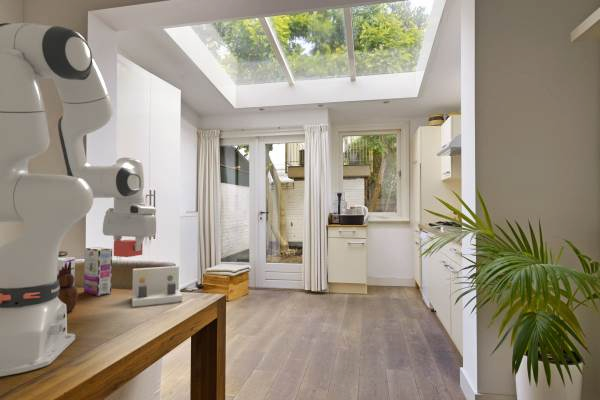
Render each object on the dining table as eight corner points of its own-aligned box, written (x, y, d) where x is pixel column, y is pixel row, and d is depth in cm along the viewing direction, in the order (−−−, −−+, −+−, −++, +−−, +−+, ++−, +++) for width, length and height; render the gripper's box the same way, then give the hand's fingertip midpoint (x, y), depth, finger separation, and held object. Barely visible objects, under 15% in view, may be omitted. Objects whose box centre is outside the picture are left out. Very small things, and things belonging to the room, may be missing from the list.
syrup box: (75, 299, 116) (76, 256, 117) (61, 304, 110) (62, 259, 111) (59, 298, 117) (60, 256, 117) (45, 303, 111) (46, 258, 111)
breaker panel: (182, 301, 114) (182, 271, 115) (132, 306, 108) (132, 275, 108) (177, 293, 125) (178, 265, 125) (132, 297, 119) (132, 268, 119)
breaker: (146, 301, 113) (146, 286, 113) (138, 302, 112) (138, 287, 112) (146, 300, 115) (146, 285, 115) (138, 300, 114) (138, 285, 114)
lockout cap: (142, 254, 114) (142, 240, 114) (127, 257, 108) (127, 242, 109) (129, 253, 116) (129, 239, 116) (113, 256, 111) (113, 241, 111)
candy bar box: (112, 293, 124) (113, 248, 125) (97, 296, 120) (98, 249, 120) (97, 289, 130) (98, 246, 131) (83, 291, 126) (84, 247, 127)
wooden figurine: (72, 307, 107) (73, 259, 107) (80, 310, 104) (81, 261, 104) (46, 312, 101) (47, 262, 102) (54, 316, 98) (55, 264, 98)
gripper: (97, 207, 114) (97, 249, 113) (144, 208, 106) (143, 253, 106) (114, 207, 119) (113, 247, 119) (159, 208, 112) (159, 250, 112)
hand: (128, 250), depth 112 cm, fingers closed on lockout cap, 6 cm apart
